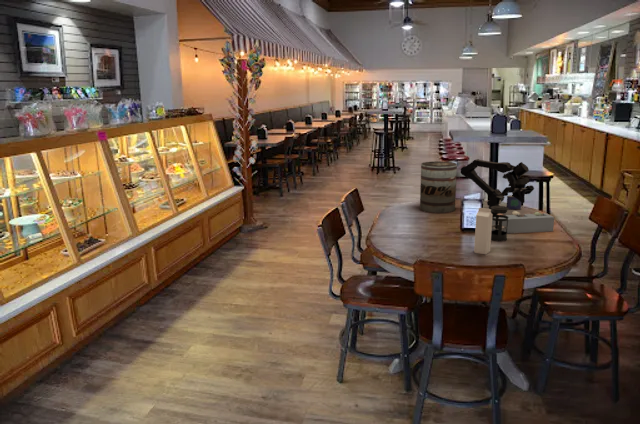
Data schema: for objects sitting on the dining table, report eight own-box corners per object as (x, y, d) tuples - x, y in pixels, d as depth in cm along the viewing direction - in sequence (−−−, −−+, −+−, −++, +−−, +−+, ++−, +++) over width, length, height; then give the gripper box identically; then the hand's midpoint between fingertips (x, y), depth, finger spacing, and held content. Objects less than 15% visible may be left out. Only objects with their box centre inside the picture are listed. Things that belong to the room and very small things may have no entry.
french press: (506, 236, 277) (509, 194, 272) (510, 241, 268) (513, 198, 263) (483, 235, 279) (486, 194, 274) (486, 240, 270) (489, 198, 265)
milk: (478, 249, 257) (480, 206, 252) (490, 251, 254) (493, 207, 248) (473, 252, 252) (476, 208, 247) (486, 254, 249) (488, 210, 244)
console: (490, 229, 290) (491, 215, 288) (544, 226, 293) (545, 213, 292) (497, 234, 282) (498, 219, 280) (553, 231, 285) (554, 217, 283)
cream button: (511, 217, 295) (512, 211, 294) (517, 216, 295) (518, 210, 294) (515, 219, 290) (516, 213, 289) (521, 218, 291) (522, 212, 290)
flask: (520, 208, 335) (521, 192, 333) (521, 210, 333) (522, 193, 330) (505, 209, 336) (506, 192, 333) (507, 210, 333) (508, 193, 330)
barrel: (413, 210, 337) (414, 164, 329) (429, 203, 354) (431, 160, 346) (445, 215, 323) (447, 167, 316) (460, 208, 340) (462, 163, 333)
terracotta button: (496, 219, 290) (496, 213, 289) (502, 219, 291) (502, 213, 290) (499, 221, 286) (500, 215, 285) (505, 221, 286) (506, 215, 285)
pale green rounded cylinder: (533, 217, 292) (533, 211, 291) (539, 217, 293) (539, 211, 292) (537, 220, 288) (538, 213, 287) (543, 219, 288) (544, 213, 287)
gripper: (506, 173, 300) (516, 196, 292) (533, 172, 305) (544, 194, 297) (497, 184, 309) (507, 206, 302) (524, 182, 314) (534, 204, 306)
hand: (523, 202), depth 301 cm, fingers closed
